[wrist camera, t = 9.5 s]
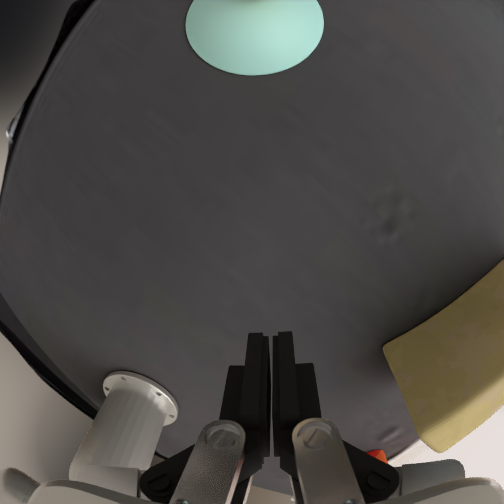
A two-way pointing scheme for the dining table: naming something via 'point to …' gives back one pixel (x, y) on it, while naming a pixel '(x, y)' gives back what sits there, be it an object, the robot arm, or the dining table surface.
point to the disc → (254, 33)
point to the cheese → (454, 364)
